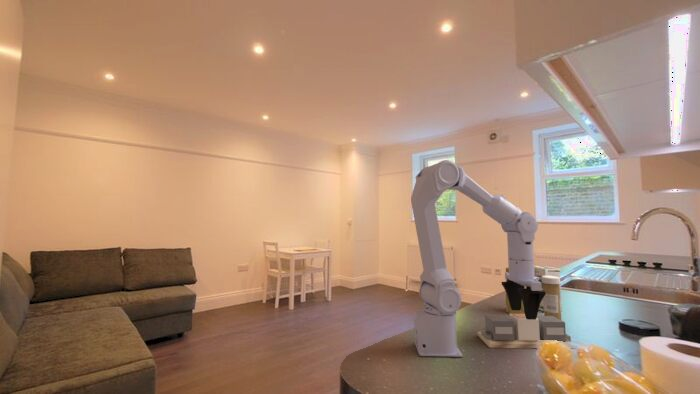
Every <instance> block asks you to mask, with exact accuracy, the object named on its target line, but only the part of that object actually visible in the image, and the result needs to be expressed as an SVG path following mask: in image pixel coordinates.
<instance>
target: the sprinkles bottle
mask: <svg viewBox="0 0 700 394" xmlns="http://www.w3.org/2000/svg"><path fill="white" fill-rule="evenodd" d="M560 282H561V278H560V279H559V277H556V276H542V284H543V290H544V291H546V295H545V296H544V297H543V304H544V311H543V314H544V315H543V316H554V317H556V318H558V319H560V320H562V312H561V304H562V301H561V302H560V289H559V284H560Z"/></svg>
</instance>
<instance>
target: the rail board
mask: <svg viewBox="0 0 700 394" xmlns="http://www.w3.org/2000/svg"><path fill="white" fill-rule="evenodd" d="M537 319H539V333H540V340H557V341H563V342H569V343H574V342H572V339H571V336H570V335H568V334H567V333H566V322H565V321H564V320H562V319H561V320H560V319H558V318H556V317H554V316H544V315H537ZM484 320H485V321H484V322H485V323H484V325H485V329H480V331H477V336H478V337H479V338H480V340H481V341H483V343H485V344H486V346H488V348H491V349H492V348H493V349H496V348H497V349H499V348H500V349H530V348H536V342H537V341H528V340H518V339H516V338H515V337H514V321H512V320H511V319H509V316H507V315H505V314H504V315H503V314H495V315H494V314H489V315H488V314H485V315H484Z"/></svg>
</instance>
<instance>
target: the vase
mask: <svg viewBox="0 0 700 394" xmlns="http://www.w3.org/2000/svg"><path fill="white" fill-rule="evenodd" d="M505 272H509V267H506V268H505ZM505 282H507V280H506V279H505ZM505 312H506V313H508V314H525V313H524V306H523V302H522V304H521V310H511V307H510V303H509V300H508V296H507V293H506V292H505Z"/></svg>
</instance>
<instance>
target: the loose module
mask: <svg viewBox="0 0 700 394" xmlns="http://www.w3.org/2000/svg"><path fill="white" fill-rule="evenodd" d="M508 315H509V316H508V318H509V319H511V320H512V321H514V337H515V338H516V339H518V340H528V341H538V340H540V333H539V319H537V318H536V320H535V319H526V317H525V314H510V313H508Z"/></svg>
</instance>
